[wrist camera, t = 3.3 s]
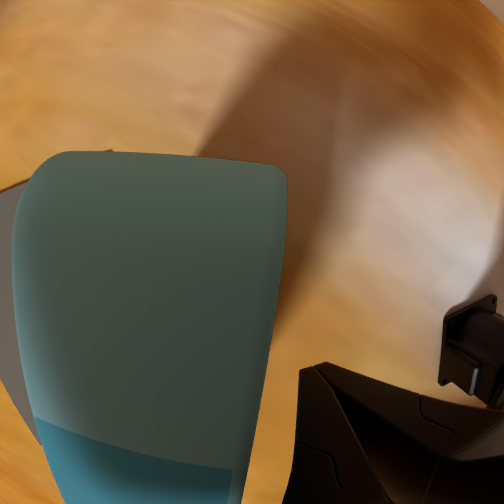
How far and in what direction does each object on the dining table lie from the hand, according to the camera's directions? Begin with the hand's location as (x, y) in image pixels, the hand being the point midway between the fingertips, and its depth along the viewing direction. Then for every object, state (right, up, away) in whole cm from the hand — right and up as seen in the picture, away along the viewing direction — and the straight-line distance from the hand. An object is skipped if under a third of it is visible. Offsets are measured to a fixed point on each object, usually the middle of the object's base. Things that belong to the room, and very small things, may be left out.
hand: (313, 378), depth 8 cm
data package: (-4, +1, +8) cm, 9 cm away
